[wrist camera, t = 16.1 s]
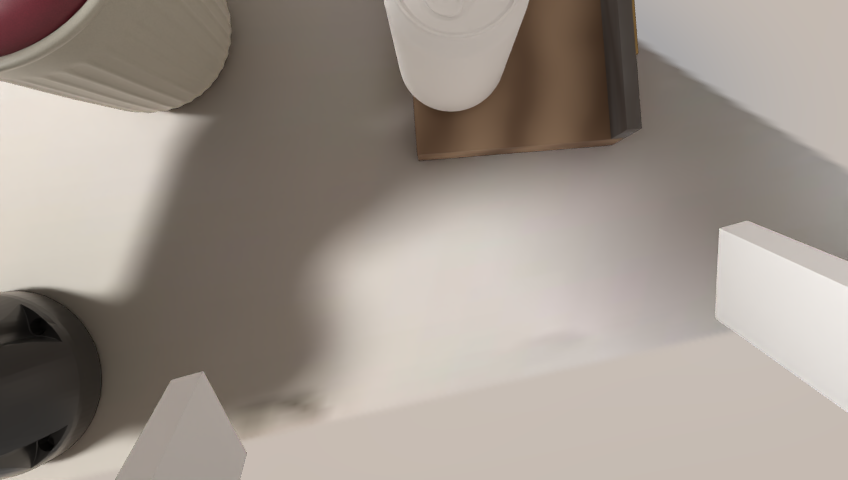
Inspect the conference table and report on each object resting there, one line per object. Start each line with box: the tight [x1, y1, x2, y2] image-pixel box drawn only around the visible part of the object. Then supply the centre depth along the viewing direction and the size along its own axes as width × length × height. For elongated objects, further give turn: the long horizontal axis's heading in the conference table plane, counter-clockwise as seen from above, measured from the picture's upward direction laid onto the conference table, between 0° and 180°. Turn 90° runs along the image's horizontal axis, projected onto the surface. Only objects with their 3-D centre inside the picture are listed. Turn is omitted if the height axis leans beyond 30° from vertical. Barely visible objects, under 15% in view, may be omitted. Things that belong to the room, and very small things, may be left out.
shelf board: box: [413, 0, 642, 161], centre depth 34 cm, size 16×17×6 cm
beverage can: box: [384, 0, 529, 112], centre depth 29 cm, size 8×8×12 cm
